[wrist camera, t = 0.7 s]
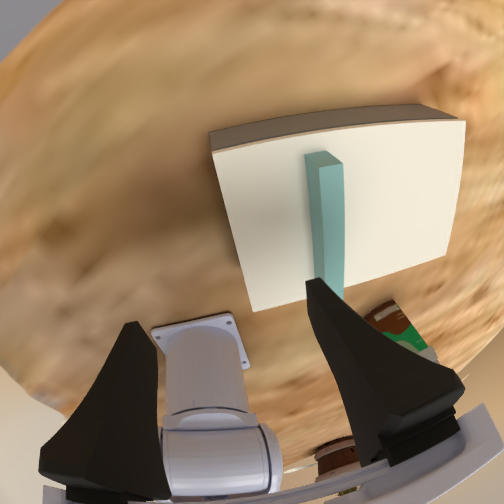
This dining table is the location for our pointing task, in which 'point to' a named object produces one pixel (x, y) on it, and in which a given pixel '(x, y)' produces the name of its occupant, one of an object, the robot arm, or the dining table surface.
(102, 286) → the dining table surface
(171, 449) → the robot arm
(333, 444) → the flowerpot
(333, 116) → the grey sliding-lid box
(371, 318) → the food container
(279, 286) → the lid
